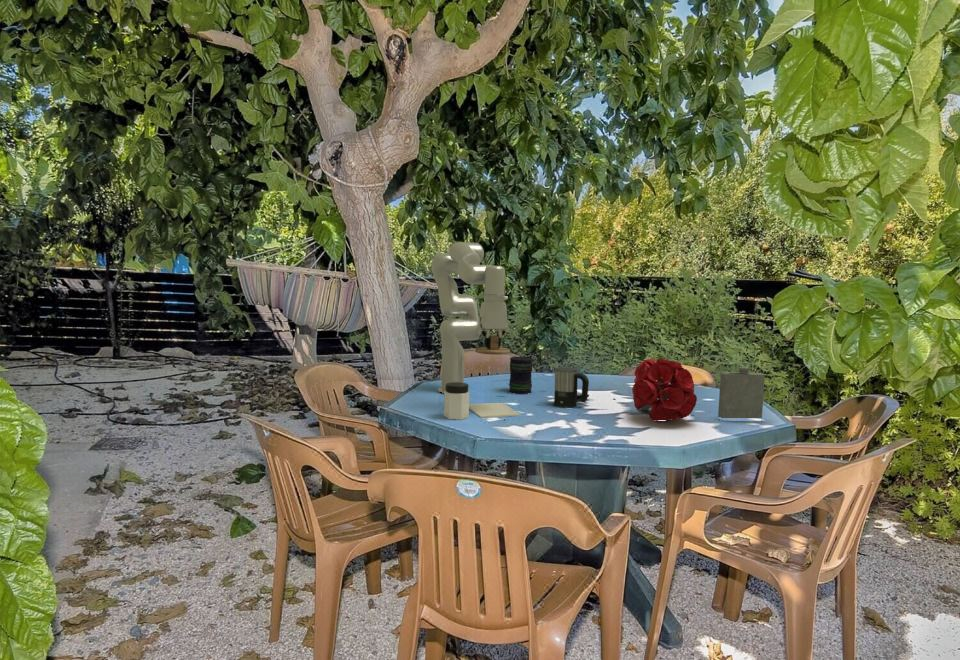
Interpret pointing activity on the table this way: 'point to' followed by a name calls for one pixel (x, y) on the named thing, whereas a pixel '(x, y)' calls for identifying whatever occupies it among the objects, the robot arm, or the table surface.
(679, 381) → the bouquet
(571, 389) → the milk frother
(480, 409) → the placemat
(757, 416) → the hip flask
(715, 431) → the table surface
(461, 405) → the jar
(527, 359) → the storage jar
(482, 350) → the lid
